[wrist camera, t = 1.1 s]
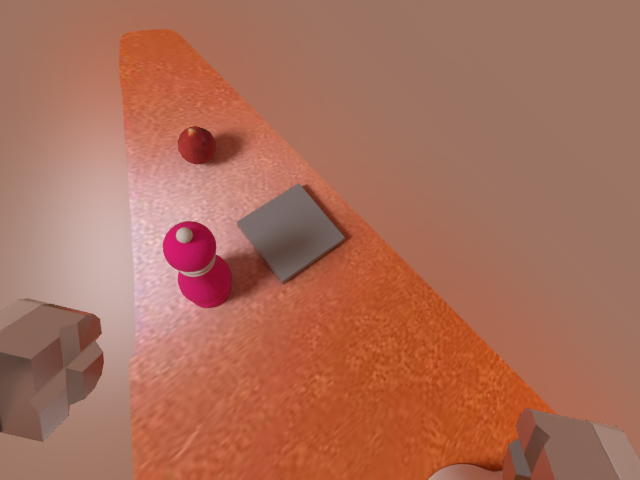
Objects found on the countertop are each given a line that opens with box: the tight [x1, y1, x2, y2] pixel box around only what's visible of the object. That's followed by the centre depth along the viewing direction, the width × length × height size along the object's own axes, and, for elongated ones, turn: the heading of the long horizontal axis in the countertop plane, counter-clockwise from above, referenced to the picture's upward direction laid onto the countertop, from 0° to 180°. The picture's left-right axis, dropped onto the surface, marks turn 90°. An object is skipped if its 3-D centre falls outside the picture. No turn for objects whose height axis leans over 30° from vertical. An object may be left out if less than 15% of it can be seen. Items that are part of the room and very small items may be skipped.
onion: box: [178, 126, 216, 164], centre depth 73 cm, size 6×6×8 cm
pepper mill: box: [163, 221, 231, 308], centre depth 59 cm, size 7×7×20 cm
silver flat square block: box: [237, 183, 345, 284], centre depth 72 cm, size 12×12×2 cm
